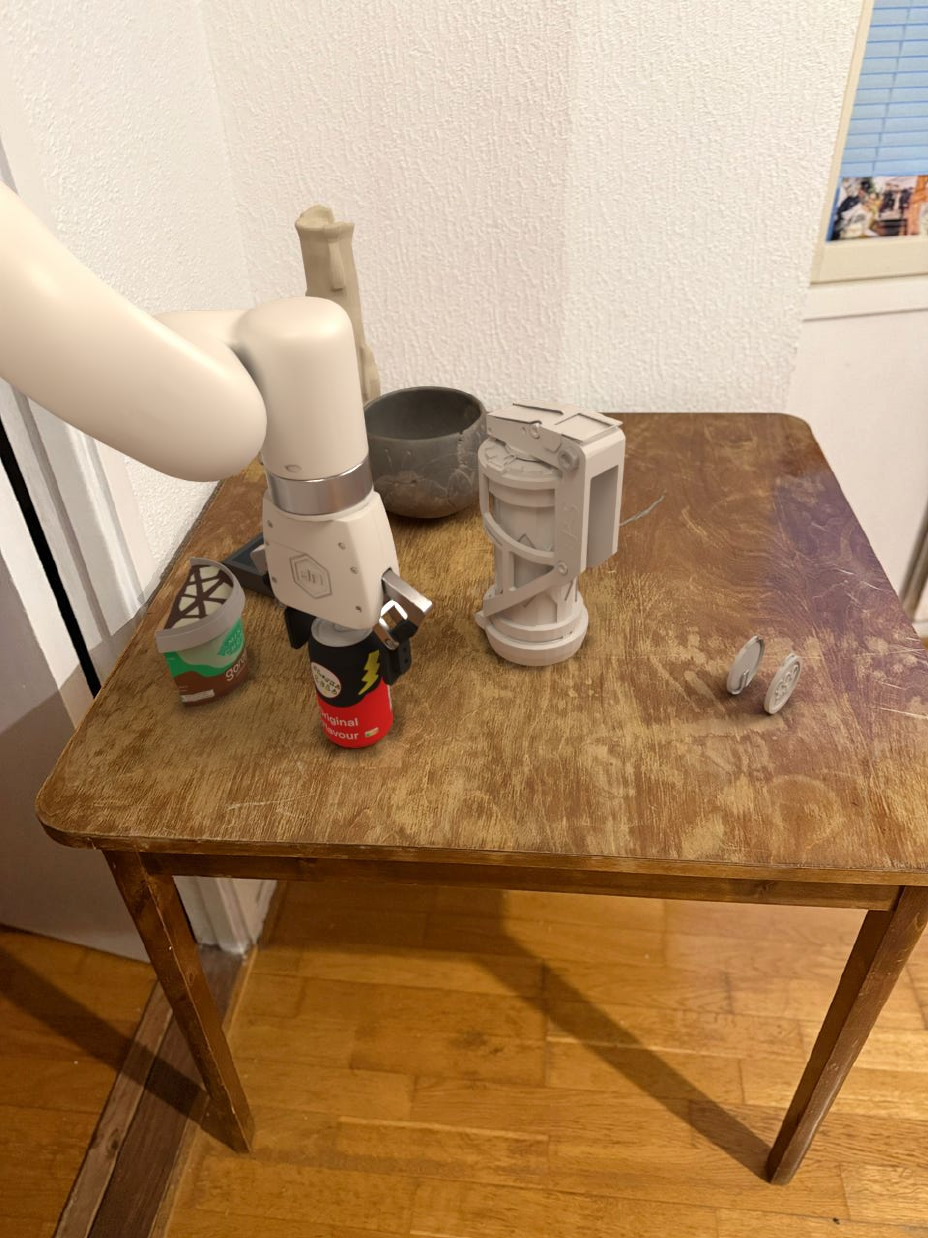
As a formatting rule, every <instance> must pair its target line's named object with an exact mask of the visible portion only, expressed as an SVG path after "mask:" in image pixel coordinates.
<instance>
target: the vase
mask: <svg viewBox="0 0 928 1238" xmlns="http://www.w3.org/2000/svg"><path fill="white" fill-rule="evenodd" d="M335 219H336V218H335V215H334V212H333V209H332V207H326V206H325V205H322V204H321V205H320V204H315V205H313V206H310V207H309V208H306V210H304V211H301V213H300V215H299V217H298V218H297V219H296V220H295V221H294V227H295V231H296V233H297V235H298V240H299V244H300V251H301V257H302V263H303V269H304V276H305V284H306V291H305V292H304V296H309V297H318V298H324V299H328V300H331V301H333V302H335V303H336V304H338V305H340V306H341V307H342V308H343V309H344V310H345V311H346V313H347V315H348V316H349V319H350V321H351V324H352V328H353V334H354V341H355V348H356V356H357V364H358V372H359V380H360V388H361V395H362V403H363V408H364V407H365V406H366V405H367V404H368V403H369V402H371V401H372V400H374V399H375V398H377V397H380V396H382V395H381V392H382V391H381V377H380V373H379V370H378V367H377V363H376V360H375V359H376V358H375V355H374V352H373V350H372V348H371V347H370V346H369V345H368V343H367V342H366V335H365V329H364V324H363V317H362V307H361V296H360V288H359V286H360V285H359V280H358V279H359V278H358V273H357V268H356V263H355V257H354V250H353V245H352V243H353V235H354V230H355V226H356V225H355V222H353V221H351V222H350V221H349V222H348V223H347V222H345V221H344V220H343V221H336V220H335Z"/></svg>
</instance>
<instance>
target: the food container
mask: <svg viewBox="0 0 928 1238" xmlns="http://www.w3.org/2000/svg"><path fill="white" fill-rule="evenodd" d="M188 560H189V565H190V569H189V571H188V575H187V577H186V579H185V581H184V583H183V585H182V586H181V587H180V589H179V590H178V592H177V594H176V596H175V598H174V600H173V603H172V606H171V610H170V612H169V615H168V618H167V619H166V622H165V624H164V625H163V629H154V634H155V643H156V646H157V652H158V654H160V653H161V654H163V657H164V660H165V662H166V664H167V667H168V669H169V673H170V674H171V677H172V679H173V682H174V685H175V686H176V687H175V688H176V689H177V692H178V694H179V697H180V699H181V702H182V705H183V708H193V707H199V706H205V705H208V704H211V703H215V702H217V701H219V700H221V699H223V698H225V697H227V696H229V695H230V694H231V693H233V692H235V690H236V689H238V688H239V687H240V686H241V685H242V684H243V682H244V681H245V679H246V678H247V676H248V672H249V660H248V653H247V647H246V641H245V632H244V628H243V620H242V613H243V611H244V609H245V605H246V595H245V592H244V590H243V587H242V586H240V584H239V582H238V580H237V579H236V577H235V576H234V575H233V574H232V573H231V571H230V570H229V569H228V568H227V567H225V566H224V565H222V564H221V562H218V561H215V560H213V559H209V558H204V557H188Z"/></svg>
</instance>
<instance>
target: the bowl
mask: <svg viewBox="0 0 928 1238" xmlns="http://www.w3.org/2000/svg"><path fill="white" fill-rule="evenodd" d="M363 411H364V418H365V426H366V434H367V441H368V450H369V458H370V466H371V473H372V481H373V488H374V491H375V492H377V493H378V494H379V495H380V498H381V500H382V503H383V506H384V509H385V511H387V512H389V513H392V514H396V515H399V516H404V517H409V518H415V519H416V518H417V519H438V518H445V517H447V516H450V515H452V514H455V513H458V512H461V511H463V510H464V509H466V508H468V507H469V506H471V505H473V504H474V503H475V502H477V501H478V500H480V499H479V469H478V450H479V448H480V446H481V445H482V443H483V442H484V441H485V440H487V439H488V438H489V436H490V435H489V434H487V415H486V414H488V413H489V412H488V411H487V409H486V407H485V406H484V403H483V402H482V401H481V400H480V399H479V398H478V397H477V396H475V395H474V394H472V393H469V392H466V391H465V390H464V391H463V390H460V389H457V388H452V387H446V386H438V385H437V386H436V385H435V386H434V385H420V386H411V387H405V388H400V389H396V390H393V391H390V392H387V393H384V394H382V395H380V397H377V398H375V399H374V400H372V401H371V402H369V403H368V404H367V405H366V406H365V407H364V408H363Z"/></svg>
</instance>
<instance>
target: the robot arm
mask: <svg viewBox="0 0 928 1238" xmlns="http://www.w3.org/2000/svg"><path fill="white" fill-rule="evenodd" d="M0 378H1V379H2V380H3V381H5V383H8V385H10V386H12V387H13V388H14V389H15V390H17V392H20V393H21V394H22V395H24V396H25V397H27V398H28V399H30V401H32V402H34V403H35V404H37V405H38V406H40V407H41V408H43V409H44V410H45V411H47V412H49V413H50V414H52V415H53V416H55V417H56V418H58V419H60V420H61V421H62V422H65V423H66V424H68V425H69V426H71V427H72V428H74V429H77V431H80V432H81V433H83V434H84V435H86V436H89V437H90V438H93V439H94V440H96V441H98V442H99V443H102V444H104V445H106V446H107V447H109V448H112V449H114V450H115V451H117V452H119V453H121V454H123V455H125V456H127V457H128V458H131V459H132V460H134V461H136V462H138V463H140V464H142V465H145V466H146V467H148V468H150V469H152V470H154V471H156V472H159V473H160V474H163V475H166V476H168V477H172V478H174V479H178V480H183V481H187V482H195V483H213V482H219V481H222V480H226V479H229V478H231V477H233V476H235V475H237V474H239V473H241V472H243V470H245V469H246V468H247V467H249V466H250V464H251V463H252V462H253V461H254V460H255V459H256V458H257V456H258V462H259V465H261V466H262V467H263V469H264V474H265V478H266V484H267V488H266V489H265V491H264V493H263V498H262V510H261V511H262V512H261V513H262V519H261V520H262V532H263V537H264V544H263V545H260V546H259V547H258V548H256V549H255V550H254V551H252V552H251V553H250V557H251V559H252V561H253V562H254V564H255V566H256V567H257V569H258V570H259V572H260V573H262V574H263V576H262V581H263V583H264V584H265V585H266V586H267V587H268V588H269V590H270V591H271V592H272V593H273V594H274V595H275V596H276V598H274V604H275V607H277V608H278V609H279V610H281V611H283V613H282V614H283V619H284V623H285V627H286V632H287V636H288V641H289V646H290V648H292V649H294V650H299V649H301V648H303V646H305V645H306V644H308V640H309V638H310V635H311V634H312V630H311V628H312V624H313V622H314V620H315V619H316V618H317V617H319V618H322V619H325V620H328V621H331V622H334V623H336V624H339V625H342V626H345V627H348V628H351V629H355V630H361V631H367V630H370V629H371V628H372V629H373V631H374V632H375V633H376V635H377V636H378V637H379V638H380V640H381V641H382V642H383V643H382V644H381V645H380V647H379V657H380V664H381V671H382V678H383V681H384V683H385V684H387V685H389V687H392V686H393V685H394V684H395V683H396V682H397V680H399V679H400V678H401V676H403V675H405V674H406V673H407V672H408V671H409V670H410V668H411V667H412V662H413V660H412V649H411V642H410V641H411V640H410V639H411V638H413V637H414V636H416V634H417V633H418V632H419V631H420V630H421V629H422V628H423V627H424V626H425V625H426V623H427V620H428V619H429V617H430V615H431V613H432V611H433V610H434V603H433V602H432V601H431V600H430V599H428V598H427V597H426V596H425V595H423V594H422V593H421V592H420V591H418V589H416V588H415V587H414V586H413V585H411V584H409V583H408V581H407V582H406V580H404V579H403V577H401V574H400V567H399V561H398V555H397V551H396V546H395V545H396V544H395V541H394V537H393V533H392V528H391V526H390V525H391V524H390V522H389V519H388V515H387V512H386V510H385V509H384V506H383V503H382V500H381V498H380V495H379V494H378V493H377V492H375V491H374V488H373V481H372V473H371V466H370V458H369V450H368V441H367V434H366V426H365V418H364V411H363V403H362V395H361V388H360V380H359V372H358V364H357V356H356V348H355V341H354V334H353V328H352V324H351V321H350V319H349V316H348V315H347V313H346V311H345V310H344V309H343V308H342V307H341V306H340V305H338V304H336V303H335V302H333V301H331V300H328V299H324V298H318V297H309V296H305V295H304V296H303V295H301V296H299V295H298V296H287V297H281V298H276V299H273V300H269V301H266V302H263V303H261V304H258V305H256V306H254V307H251V308H240V309H239V308H238V309H210V310H209V309H208V310H207V309H206V310H205V309H204V310H202V309H201V310H200V309H199V310H197V309H196V310H173V311H172V310H171V311H164V312H160V313H156V314H151V315H150V314H148V313H147V312H146V311H144V310H143V309H141V308H139V307H138V306H137V305H135V304H134V303H133V302H132V301H130V300H128V298H127V297H125V296H124V295H122V294H121V293H119V292H118V290H116V289H114V288H113V287H111V285H109V284H108V283H107V282H105V281H104V280H103V279H102V278H100V277H99V276H98V275H97V274H95V273H94V272H93V271H92V270H91V269H90V268H89V267H88V266H86V264H84V263H83V261H81V260H80V259H78V257H76V256H75V255H74V254H73V253H72V252H71V251H70V250H69V249H68V248H67V247H66V246H65V245H64V243H62V242H61V241H60V240H59V239H58V238H57V237H56V236H55V234H54V233H53V232H52V231H51V230H50V229H49V227H47V226H46V225H45V223H44V222H43V221H42V220H41V219H40V218H39V217H38V215H37V214H36V213H35V212H34V211H33V210H32V209H31V207H30V206H29V205H28V204H27V203H26V202H25V200H23V199H22V198H21V196H19V195H18V194H17V193H16V192H15V191H14V190H12V188H10V187H9V186H8V185H7V184H6V183H5V182H4V181H3V180H1V179H0ZM387 614H388V615H389V617H390V618H391V619H392V621H393V622H394V623H395V624H396V625H395V626H393V628H392V629H391V627H390V626H389V625H388V624H387V623H386V621H385V620H384V618H383V617H384V616H385V615H387Z"/></svg>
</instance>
